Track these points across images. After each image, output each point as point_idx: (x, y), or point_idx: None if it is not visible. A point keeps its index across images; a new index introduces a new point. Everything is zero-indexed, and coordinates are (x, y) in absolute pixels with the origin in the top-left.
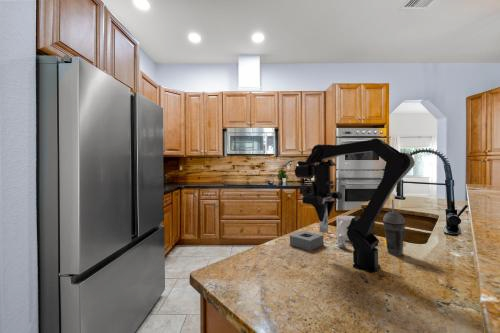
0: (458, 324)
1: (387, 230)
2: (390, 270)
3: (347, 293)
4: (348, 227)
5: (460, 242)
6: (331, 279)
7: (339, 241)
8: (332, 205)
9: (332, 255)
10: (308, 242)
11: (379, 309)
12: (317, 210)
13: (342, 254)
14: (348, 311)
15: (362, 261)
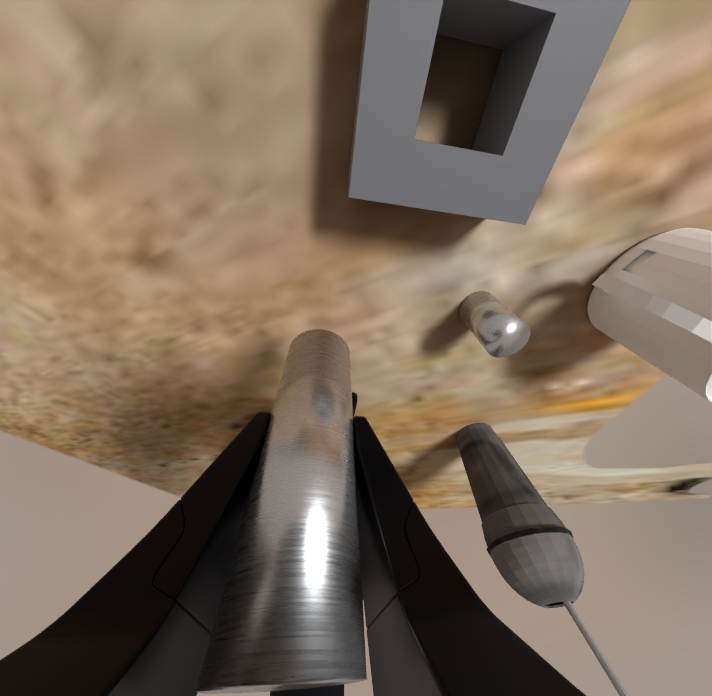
0: None
1: (493, 504)
2: None
3: (140, 416)
4: None
5: (605, 496)
6: (163, 372)
7: (474, 320)
8: (371, 663)
9: (353, 310)
10: (350, 178)
11: (149, 458)
12: (156, 552)
13: (388, 335)
14: (81, 433)
15: None
